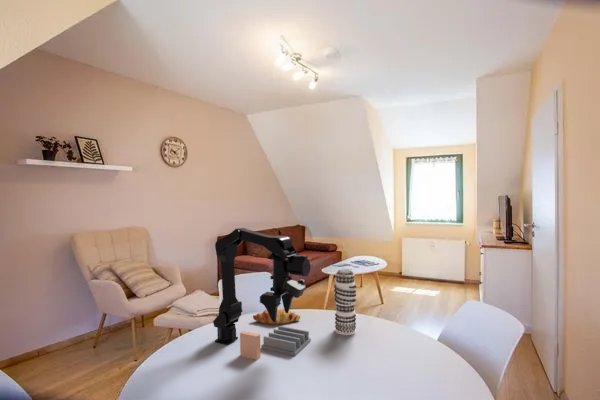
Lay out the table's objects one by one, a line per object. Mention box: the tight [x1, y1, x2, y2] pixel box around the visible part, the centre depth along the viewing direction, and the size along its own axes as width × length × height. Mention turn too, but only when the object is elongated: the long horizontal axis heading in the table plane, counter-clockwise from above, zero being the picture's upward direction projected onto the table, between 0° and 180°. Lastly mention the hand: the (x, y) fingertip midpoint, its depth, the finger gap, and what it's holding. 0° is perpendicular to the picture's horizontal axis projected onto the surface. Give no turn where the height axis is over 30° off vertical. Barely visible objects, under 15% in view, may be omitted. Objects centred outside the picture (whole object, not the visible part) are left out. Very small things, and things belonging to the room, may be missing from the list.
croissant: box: [252, 306, 301, 326], centre depth 146 cm, size 21×10×8 cm, turn 94°
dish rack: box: [260, 325, 312, 357], centre depth 122 cm, size 14×13×4 cm
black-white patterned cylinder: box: [333, 268, 357, 336], centre depth 135 cm, size 9×9×25 cm
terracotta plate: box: [239, 330, 261, 361], centre depth 113 cm, size 7×2×8 cm, turn 64°
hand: (280, 317), depth 114 cm, fingers open, 9 cm apart
